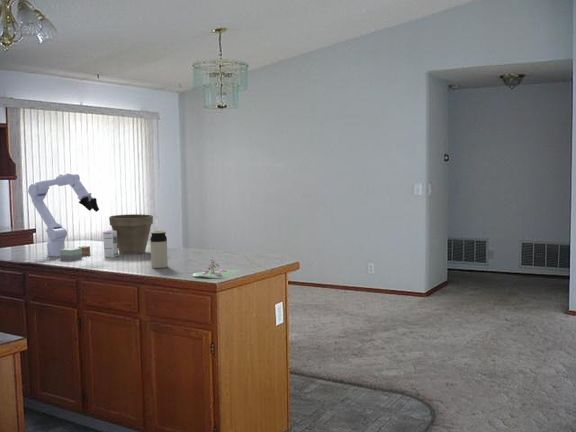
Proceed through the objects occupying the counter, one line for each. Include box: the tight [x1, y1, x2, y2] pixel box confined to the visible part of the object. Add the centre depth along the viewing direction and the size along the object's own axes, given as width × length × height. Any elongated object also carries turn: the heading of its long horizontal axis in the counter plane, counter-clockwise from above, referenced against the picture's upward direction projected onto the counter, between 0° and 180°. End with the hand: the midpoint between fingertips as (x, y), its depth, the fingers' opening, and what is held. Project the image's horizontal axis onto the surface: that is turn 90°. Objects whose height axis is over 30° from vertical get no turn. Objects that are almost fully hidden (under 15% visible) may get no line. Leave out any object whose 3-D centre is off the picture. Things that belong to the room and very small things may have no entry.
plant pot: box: [108, 213, 154, 255], centre depth 368 cm, size 25×25×22 cm
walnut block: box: [77, 246, 91, 257], centre depth 362 cm, size 4×4×5 cm
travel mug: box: [149, 230, 169, 269], centre depth 314 cm, size 8×8×18 cm
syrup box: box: [102, 230, 119, 258], centre depth 355 cm, size 6×6×14 cm
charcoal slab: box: [59, 254, 83, 262], centre depth 348 cm, size 8×8×3 cm
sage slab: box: [60, 247, 82, 256], centre depth 348 cm, size 8×8×3 cm
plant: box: [191, 256, 240, 279], centre depth 293 cm, size 25×21×9 cm
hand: (94, 210), depth 351 cm, fingers open, 7 cm apart
